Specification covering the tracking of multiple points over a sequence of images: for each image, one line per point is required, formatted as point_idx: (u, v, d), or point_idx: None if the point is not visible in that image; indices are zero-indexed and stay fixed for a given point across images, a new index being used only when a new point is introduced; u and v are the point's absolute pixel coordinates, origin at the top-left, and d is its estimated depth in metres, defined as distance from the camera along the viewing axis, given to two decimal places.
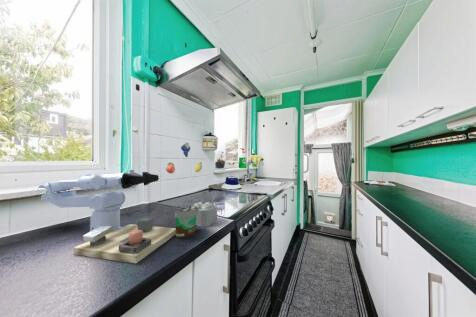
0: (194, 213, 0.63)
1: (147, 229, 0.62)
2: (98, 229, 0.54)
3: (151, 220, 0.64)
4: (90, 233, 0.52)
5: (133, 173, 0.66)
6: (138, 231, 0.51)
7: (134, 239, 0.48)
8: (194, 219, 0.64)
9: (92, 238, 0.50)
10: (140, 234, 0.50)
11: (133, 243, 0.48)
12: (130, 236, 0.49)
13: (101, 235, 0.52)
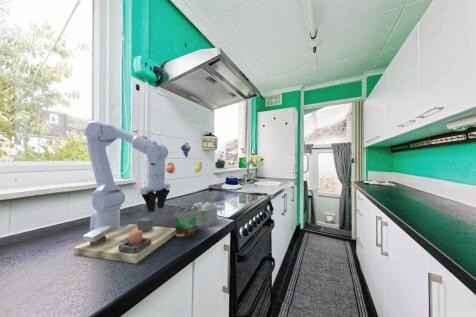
0: (194, 213, 0.63)
1: (147, 229, 0.62)
2: (98, 229, 0.54)
3: (151, 220, 0.64)
4: (90, 233, 0.52)
5: None
6: (138, 231, 0.51)
7: (134, 239, 0.48)
8: (194, 219, 0.64)
9: (92, 238, 0.50)
10: (140, 234, 0.50)
11: (133, 243, 0.48)
12: (130, 236, 0.49)
13: (101, 235, 0.52)
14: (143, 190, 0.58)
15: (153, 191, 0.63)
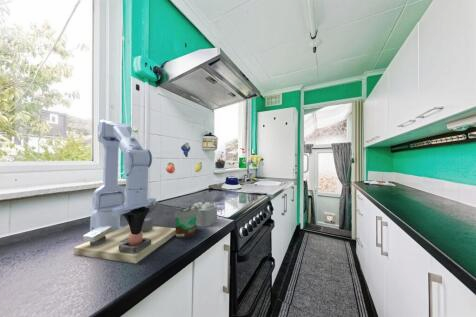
0: (194, 213, 0.63)
1: (147, 229, 0.62)
2: (98, 229, 0.54)
3: (151, 220, 0.64)
4: (90, 233, 0.52)
5: None
6: None
7: (134, 240, 0.48)
8: (194, 219, 0.64)
9: (92, 238, 0.50)
10: (140, 235, 0.50)
11: (133, 244, 0.48)
12: (130, 237, 0.49)
13: (101, 235, 0.52)
14: (115, 211, 0.43)
15: None
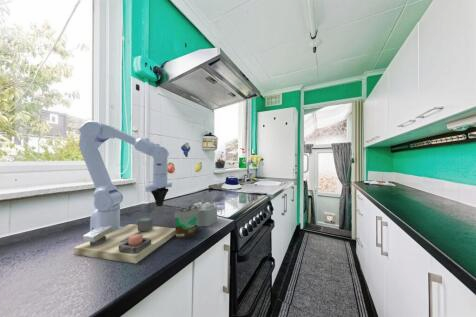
0: (194, 213, 0.63)
1: (147, 229, 0.62)
2: (98, 229, 0.54)
3: (151, 220, 0.64)
4: (90, 233, 0.52)
5: None
6: (138, 235, 0.51)
7: (134, 244, 0.48)
8: (194, 219, 0.64)
9: (92, 238, 0.50)
10: (140, 238, 0.50)
11: None
12: (130, 240, 0.48)
13: (101, 235, 0.52)
14: (148, 188, 0.64)
15: None
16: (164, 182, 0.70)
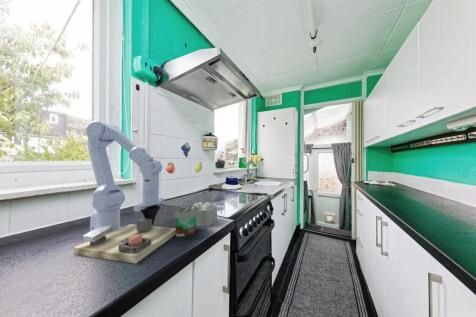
0: (194, 213, 0.63)
1: (146, 229, 0.61)
2: (98, 229, 0.54)
3: (150, 220, 0.63)
4: (90, 233, 0.52)
5: None
6: (138, 235, 0.51)
7: (134, 244, 0.48)
8: (194, 219, 0.64)
9: (92, 238, 0.50)
10: (140, 238, 0.50)
11: None
12: (130, 240, 0.48)
13: (101, 235, 0.52)
14: (137, 207, 0.59)
15: None
16: (155, 199, 0.65)
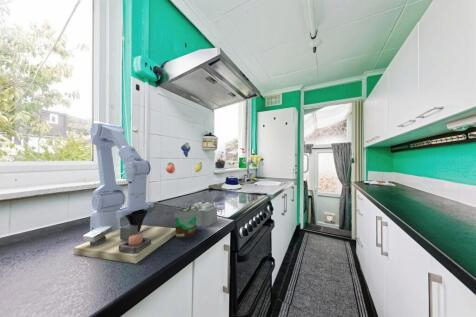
0: (194, 213, 0.63)
1: None
2: (98, 229, 0.54)
3: (136, 227, 0.57)
4: (90, 233, 0.52)
5: None
6: (138, 235, 0.51)
7: (134, 244, 0.48)
8: (194, 219, 0.64)
9: (92, 238, 0.50)
10: (140, 238, 0.50)
11: None
12: (130, 240, 0.48)
13: (101, 235, 0.52)
14: (119, 213, 0.52)
15: None
16: (141, 203, 0.58)
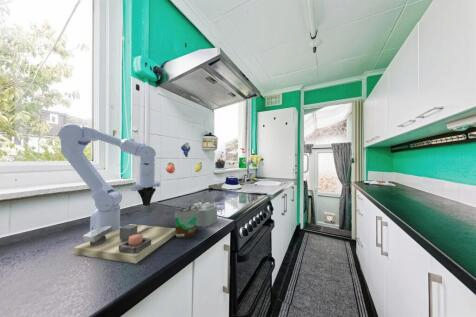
0: (194, 213, 0.63)
1: None
2: (98, 229, 0.54)
3: (135, 227, 0.56)
4: (90, 233, 0.52)
5: None
6: (138, 235, 0.51)
7: (134, 244, 0.48)
8: (194, 219, 0.64)
9: (92, 238, 0.50)
10: (140, 238, 0.50)
11: None
12: (130, 240, 0.48)
13: (101, 235, 0.52)
14: (133, 187, 0.65)
15: None
16: (151, 181, 0.70)
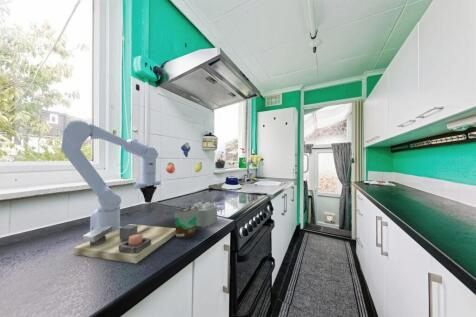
0: (194, 213, 0.63)
1: None
2: (98, 229, 0.54)
3: (135, 227, 0.56)
4: (90, 233, 0.52)
5: None
6: (138, 235, 0.51)
7: (134, 244, 0.48)
8: (194, 219, 0.64)
9: (92, 238, 0.50)
10: (140, 238, 0.50)
11: None
12: (130, 240, 0.48)
13: (101, 235, 0.52)
14: (136, 185, 0.70)
15: None
16: (152, 180, 0.76)
